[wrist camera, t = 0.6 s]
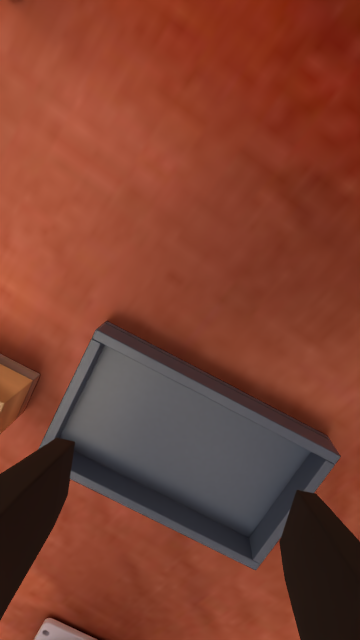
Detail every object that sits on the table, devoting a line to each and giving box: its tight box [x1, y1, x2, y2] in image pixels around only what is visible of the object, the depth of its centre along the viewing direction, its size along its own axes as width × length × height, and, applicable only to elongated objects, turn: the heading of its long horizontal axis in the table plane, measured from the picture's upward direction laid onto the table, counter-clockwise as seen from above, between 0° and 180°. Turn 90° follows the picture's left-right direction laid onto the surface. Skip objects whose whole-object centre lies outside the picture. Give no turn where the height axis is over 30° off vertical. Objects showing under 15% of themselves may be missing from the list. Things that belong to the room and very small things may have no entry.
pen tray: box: [39, 321, 341, 570], centre depth 20 cm, size 9×15×2 cm, turn 62°
